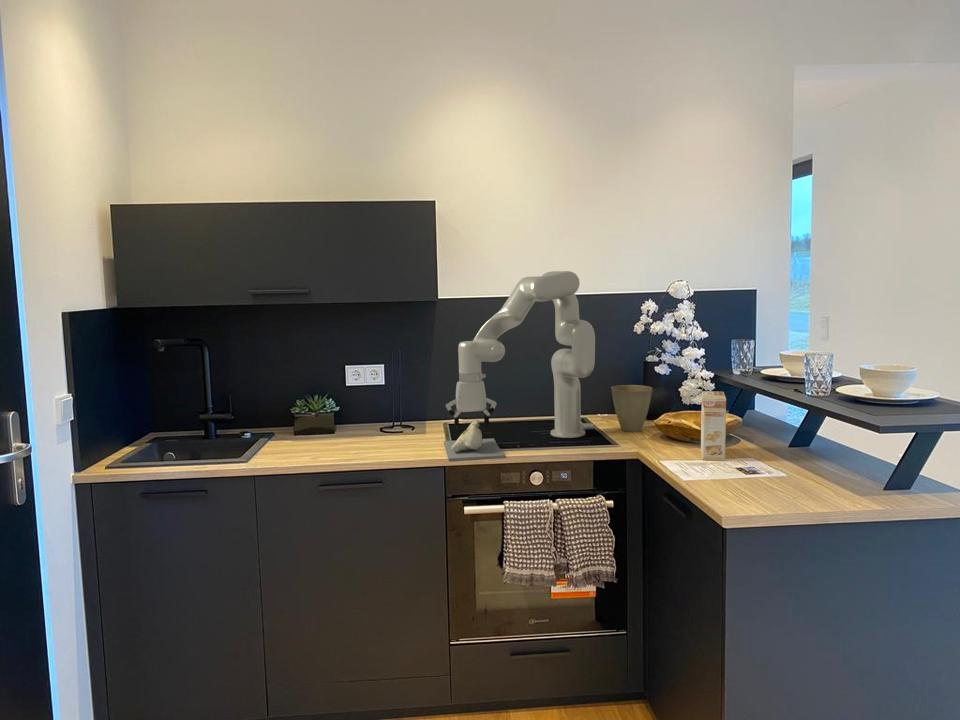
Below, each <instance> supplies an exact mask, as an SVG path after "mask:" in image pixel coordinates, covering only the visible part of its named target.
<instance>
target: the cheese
mask: <svg viewBox="0 0 960 720" xmlns="http://www.w3.org/2000/svg"><path fill="white" fill-rule="evenodd" d="M479 427H480V422H479V420H478V419H476V420H474V421H472V422H471V423H470V424H469V425H468V427H467V428H466V429H465V430H464V431H463V432H462V433H461V434H460V435H459V437H458V438H457V439H456V440H457V441H456V440H455V441H456V442H455V444H454V445H453V446H452V450H453V451H454V452H459V451H462V450H469V449H471V450H477V449H478V448H479V447H480V446H481V444H482V442H483V440H482V439H483V434H482V430H481V429H480V428H479Z"/></svg>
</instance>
